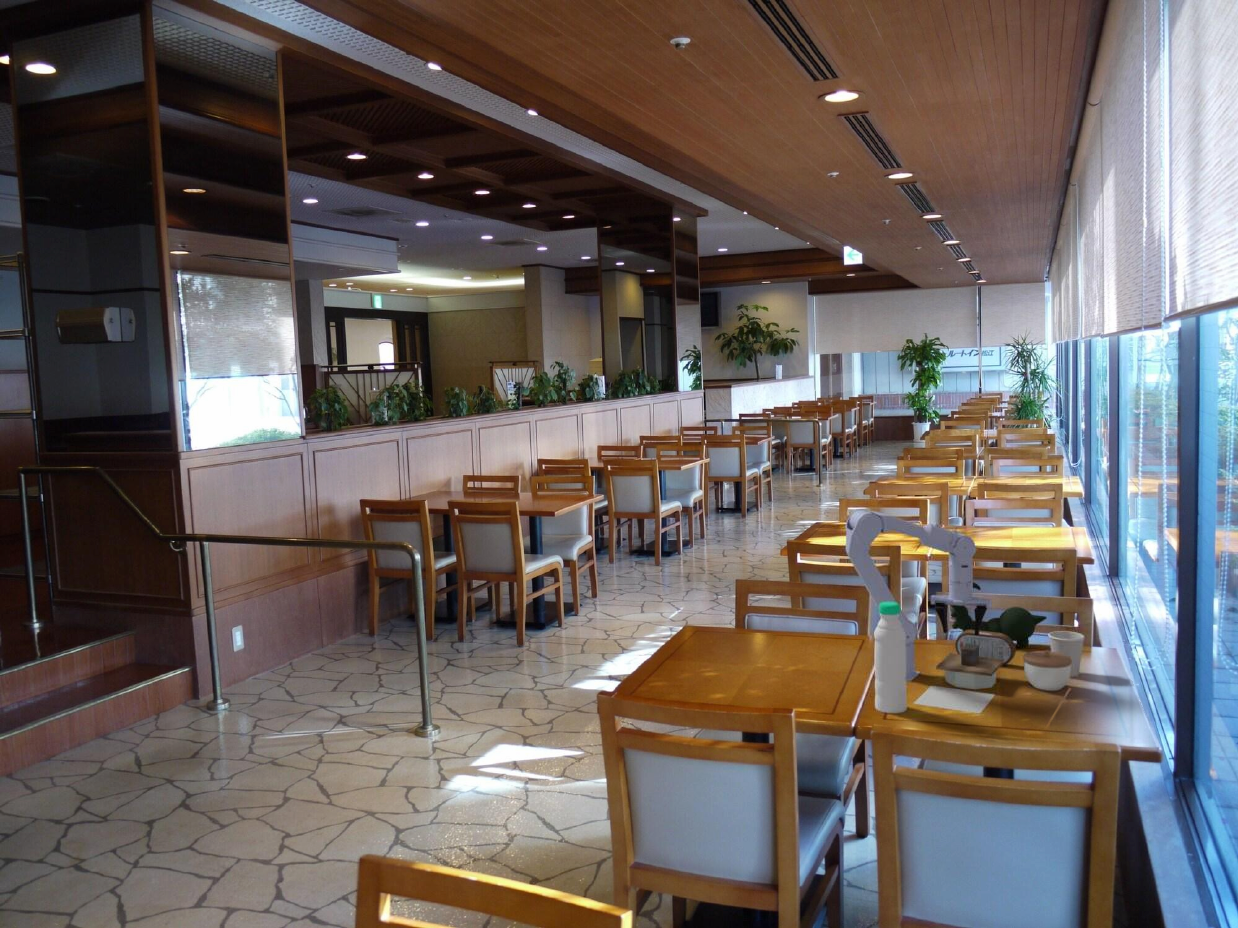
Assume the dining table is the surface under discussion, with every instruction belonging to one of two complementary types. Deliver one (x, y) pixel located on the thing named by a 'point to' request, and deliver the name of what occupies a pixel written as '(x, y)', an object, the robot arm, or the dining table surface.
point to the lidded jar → (1047, 669)
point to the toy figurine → (1001, 622)
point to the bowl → (970, 680)
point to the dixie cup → (1068, 647)
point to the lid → (970, 662)
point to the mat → (955, 699)
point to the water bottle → (890, 661)
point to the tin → (988, 644)
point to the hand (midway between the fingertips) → (961, 633)
